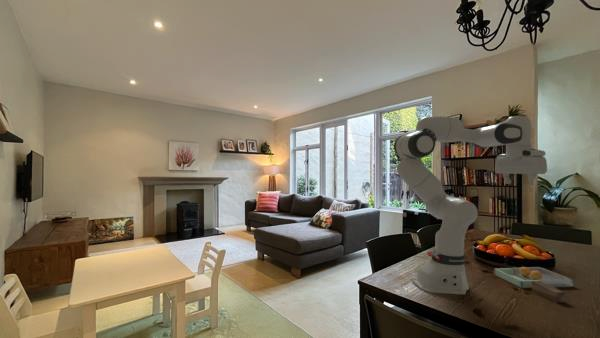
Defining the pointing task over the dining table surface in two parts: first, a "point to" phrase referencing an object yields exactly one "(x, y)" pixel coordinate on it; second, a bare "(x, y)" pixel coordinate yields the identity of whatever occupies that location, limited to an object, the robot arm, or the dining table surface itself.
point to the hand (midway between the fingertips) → (518, 184)
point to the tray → (512, 278)
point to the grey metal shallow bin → (546, 277)
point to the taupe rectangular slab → (548, 291)
